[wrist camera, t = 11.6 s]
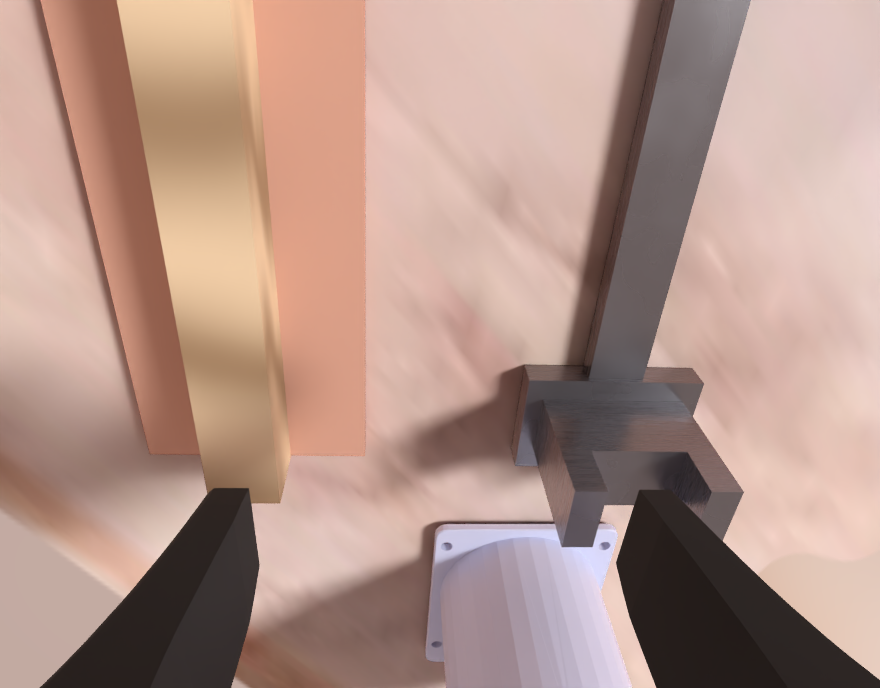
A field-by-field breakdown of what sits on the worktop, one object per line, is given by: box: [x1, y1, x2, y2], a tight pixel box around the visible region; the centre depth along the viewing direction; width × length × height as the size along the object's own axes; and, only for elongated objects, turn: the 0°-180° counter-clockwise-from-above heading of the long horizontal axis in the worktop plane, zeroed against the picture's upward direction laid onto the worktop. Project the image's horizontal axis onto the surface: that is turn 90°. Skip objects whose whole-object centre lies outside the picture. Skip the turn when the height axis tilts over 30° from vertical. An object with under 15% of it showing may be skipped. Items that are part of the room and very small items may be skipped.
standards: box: [511, 0, 751, 547], centre depth 16 cm, size 24×6×6 cm, turn 176°
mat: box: [40, 0, 365, 456], centre depth 17 cm, size 24×8×1 cm, turn 176°
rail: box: [117, 0, 291, 503], centre depth 16 cm, size 24×2×2 cm, turn 176°
